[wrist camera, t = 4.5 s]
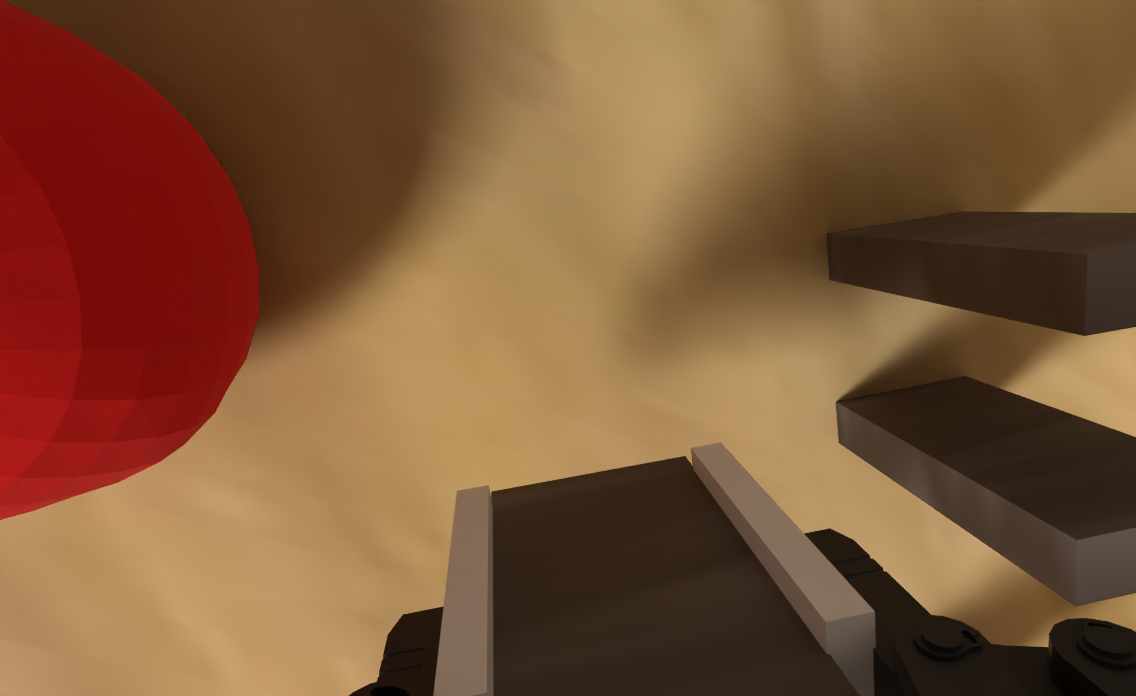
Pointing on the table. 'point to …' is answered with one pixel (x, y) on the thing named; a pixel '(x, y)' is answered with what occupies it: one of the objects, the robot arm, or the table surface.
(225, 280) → the tomato
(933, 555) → the table surface
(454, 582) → the robot arm
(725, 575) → the domino
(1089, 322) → the domino
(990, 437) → the domino
